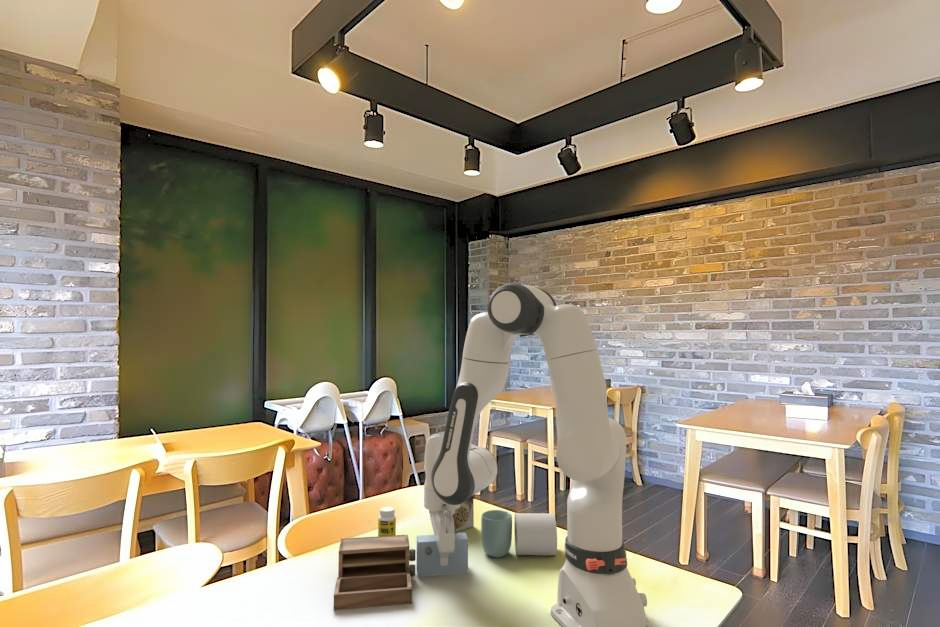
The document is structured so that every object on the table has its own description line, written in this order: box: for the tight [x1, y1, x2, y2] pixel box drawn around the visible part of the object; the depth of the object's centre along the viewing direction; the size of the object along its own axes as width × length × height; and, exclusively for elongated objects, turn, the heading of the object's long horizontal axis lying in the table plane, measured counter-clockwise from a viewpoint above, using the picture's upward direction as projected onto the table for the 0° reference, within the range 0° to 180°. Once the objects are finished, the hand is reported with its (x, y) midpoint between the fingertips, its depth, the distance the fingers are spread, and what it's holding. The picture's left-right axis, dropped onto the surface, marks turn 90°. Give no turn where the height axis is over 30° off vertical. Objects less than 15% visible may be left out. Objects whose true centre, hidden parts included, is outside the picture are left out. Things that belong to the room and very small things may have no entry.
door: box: [416, 532, 469, 578], centre depth 122 cm, size 5×12×8 cm, turn 100°
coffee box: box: [452, 495, 475, 533], centre depth 151 cm, size 9×6×16 cm
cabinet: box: [333, 534, 417, 610], centre depth 115 cm, size 18×17×8 cm
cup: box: [480, 509, 513, 558], centre depth 132 cm, size 8×8×10 cm
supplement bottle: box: [377, 506, 397, 537], centre depth 141 cm, size 5×5×8 cm
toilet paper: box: [513, 512, 558, 556], centre depth 133 cm, size 10×10×10 cm
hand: (441, 556), depth 123 cm, fingers open, 7 cm apart
